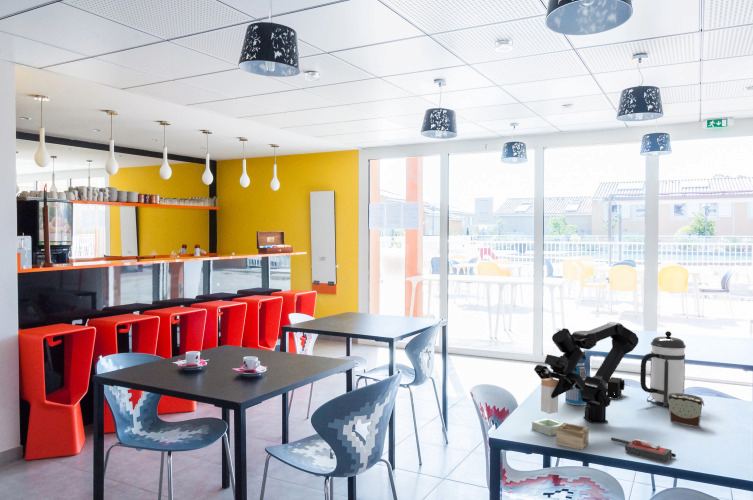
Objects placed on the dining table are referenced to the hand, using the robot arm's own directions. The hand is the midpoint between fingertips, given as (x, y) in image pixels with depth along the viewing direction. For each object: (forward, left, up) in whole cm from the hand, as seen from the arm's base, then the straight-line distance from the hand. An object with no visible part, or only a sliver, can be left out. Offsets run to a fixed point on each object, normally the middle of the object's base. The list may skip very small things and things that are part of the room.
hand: (546, 396), depth 196 cm
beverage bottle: (-29, -33, -12) cm, 45 cm away
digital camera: (-53, -42, -12) cm, 69 cm away
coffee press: (-66, -28, -12) cm, 73 cm away
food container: (-57, -4, -12) cm, 59 cm away
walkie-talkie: (-20, +22, -13) cm, 33 cm away
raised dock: (-3, +13, -12) cm, 18 cm away
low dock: (-1, -1, -12) cm, 12 cm away
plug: (-1, -1, -6) cm, 6 cm away
